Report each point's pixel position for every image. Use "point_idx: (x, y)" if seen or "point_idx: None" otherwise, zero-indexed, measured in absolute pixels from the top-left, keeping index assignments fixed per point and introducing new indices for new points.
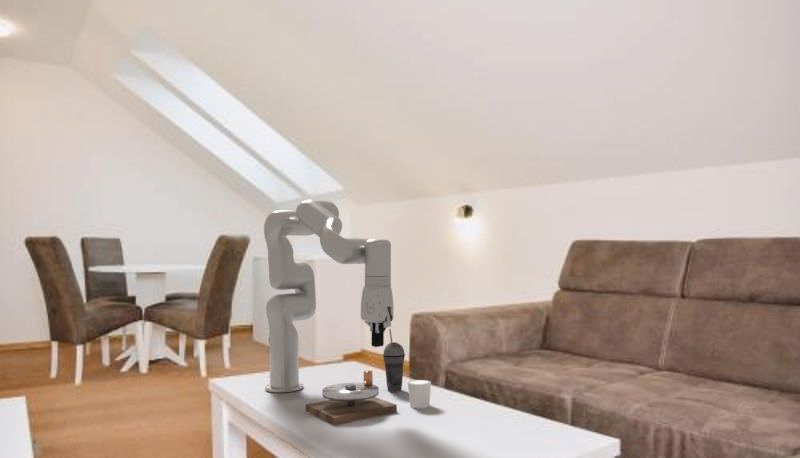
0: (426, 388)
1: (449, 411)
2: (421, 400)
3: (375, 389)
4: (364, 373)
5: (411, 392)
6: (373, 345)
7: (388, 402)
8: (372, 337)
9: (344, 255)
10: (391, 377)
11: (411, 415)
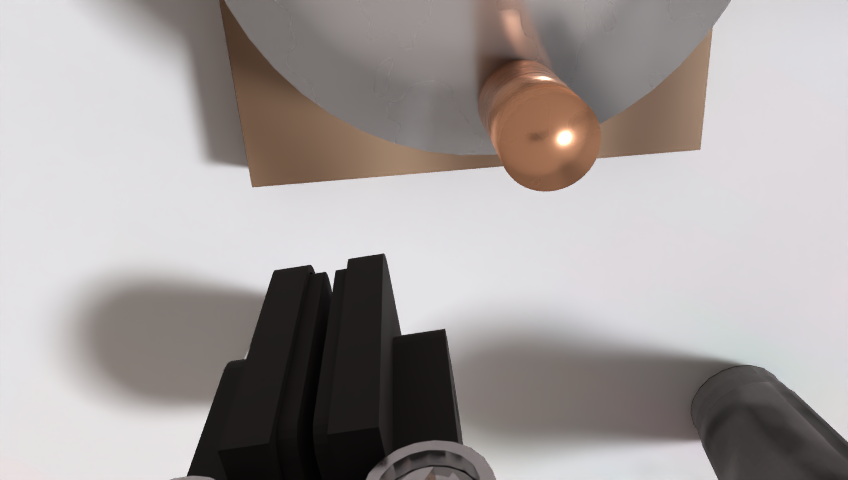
0: None
1: (106, 427)
2: None
3: (323, 77)
4: (541, 88)
5: None
6: (339, 273)
7: (347, 170)
8: (344, 350)
9: None
10: (758, 436)
11: (132, 208)
